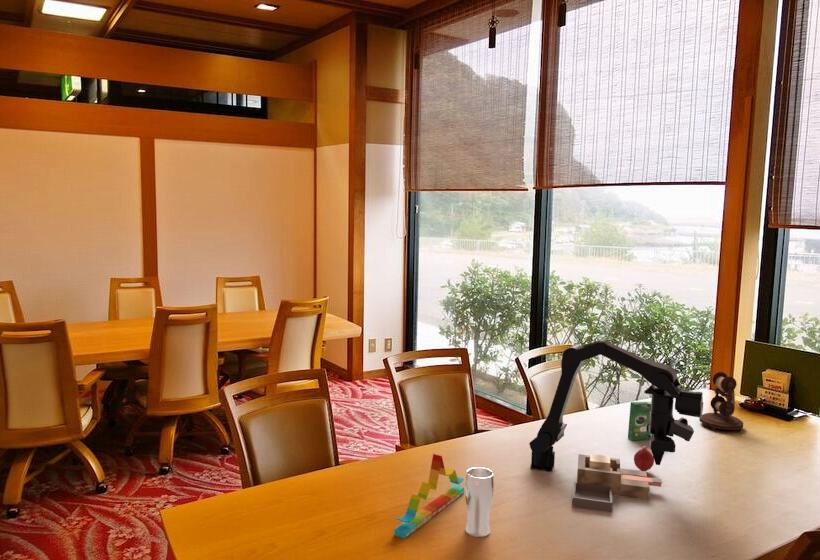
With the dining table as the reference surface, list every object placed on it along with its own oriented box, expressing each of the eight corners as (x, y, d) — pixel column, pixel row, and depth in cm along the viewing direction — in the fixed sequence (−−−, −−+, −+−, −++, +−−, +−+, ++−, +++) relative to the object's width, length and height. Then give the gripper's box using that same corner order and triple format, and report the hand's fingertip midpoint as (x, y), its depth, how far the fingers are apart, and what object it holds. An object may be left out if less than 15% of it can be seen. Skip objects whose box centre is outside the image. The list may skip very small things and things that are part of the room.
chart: (405, 540, 155) (406, 480, 154) (394, 536, 157) (395, 476, 155) (464, 494, 181) (466, 442, 179) (454, 491, 183) (456, 439, 181)
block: (589, 475, 186) (590, 460, 185) (589, 468, 191) (590, 453, 191) (609, 478, 184) (610, 463, 184) (608, 471, 190) (609, 456, 189)
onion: (654, 476, 195) (656, 450, 194) (634, 474, 196) (636, 449, 195) (651, 469, 201) (653, 444, 200) (631, 467, 202) (633, 442, 201)
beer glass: (461, 524, 163) (463, 467, 161) (488, 523, 164) (491, 466, 162) (466, 538, 156) (468, 478, 154) (494, 537, 157) (497, 478, 155)
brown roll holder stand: (750, 434, 234) (755, 380, 232) (709, 433, 235) (713, 379, 232) (731, 420, 249) (735, 369, 247) (692, 419, 249) (696, 368, 247)
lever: (587, 480, 185) (587, 473, 185) (587, 470, 192) (587, 464, 192) (662, 489, 180) (663, 482, 180) (660, 480, 187) (660, 473, 186)
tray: (572, 506, 174) (572, 497, 174) (573, 490, 184) (573, 482, 184) (611, 512, 171) (612, 503, 171) (610, 496, 181) (611, 487, 181)
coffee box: (647, 436, 229) (650, 400, 228) (652, 439, 226) (655, 403, 225) (627, 438, 227) (629, 401, 226) (631, 441, 225) (634, 404, 223)
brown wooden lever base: (576, 490, 184) (577, 468, 183) (577, 474, 195) (578, 454, 194) (648, 500, 179) (650, 477, 178) (645, 483, 190) (646, 462, 189)
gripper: (698, 424, 170) (693, 481, 172) (688, 404, 188) (684, 456, 190) (652, 419, 173) (648, 476, 175) (647, 400, 191) (643, 451, 193)
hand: (657, 464), depth 183 cm, fingers closed
